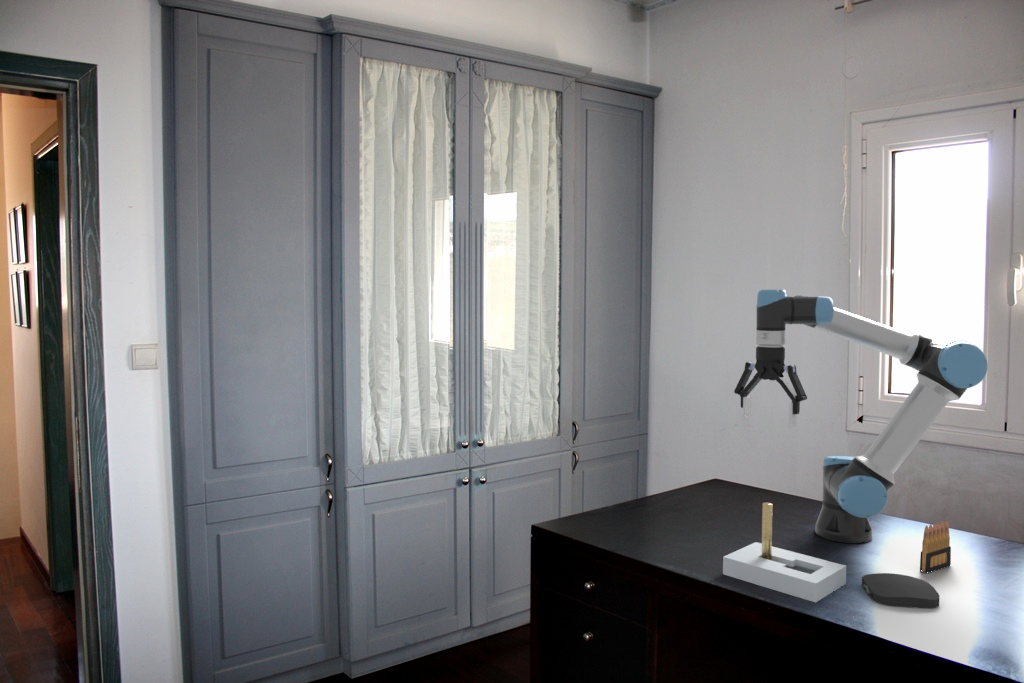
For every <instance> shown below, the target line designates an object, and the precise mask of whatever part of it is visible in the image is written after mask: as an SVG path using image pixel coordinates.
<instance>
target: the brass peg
mask: <svg viewBox="0 0 1024 683" xmlns="http://www.w3.org/2000/svg"><path fill="white" fill-rule="evenodd" d="M773 507H774V506H773V503H771V502H762V509H761V510H762V514H761V515H762V516H761V518H762V519H761V544H762V558H764V559H768V560H772V546H773V514H774V513H773V509H774V508H773Z"/></svg>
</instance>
